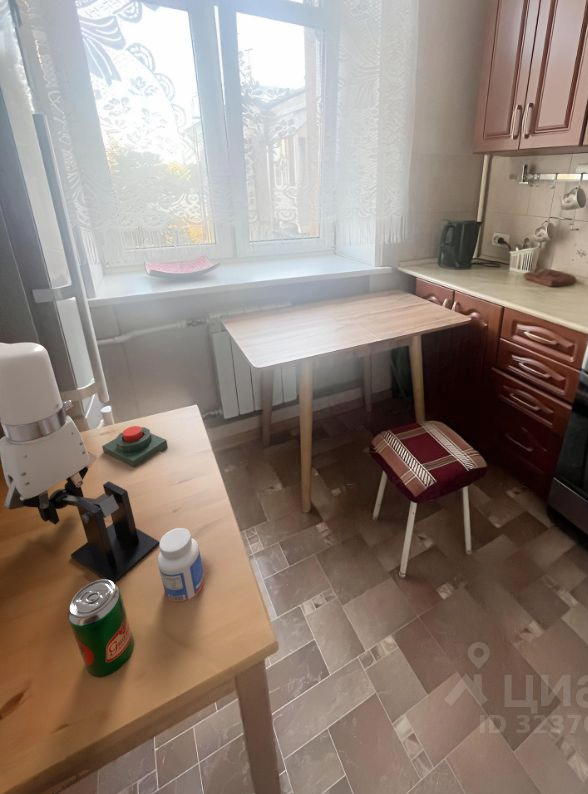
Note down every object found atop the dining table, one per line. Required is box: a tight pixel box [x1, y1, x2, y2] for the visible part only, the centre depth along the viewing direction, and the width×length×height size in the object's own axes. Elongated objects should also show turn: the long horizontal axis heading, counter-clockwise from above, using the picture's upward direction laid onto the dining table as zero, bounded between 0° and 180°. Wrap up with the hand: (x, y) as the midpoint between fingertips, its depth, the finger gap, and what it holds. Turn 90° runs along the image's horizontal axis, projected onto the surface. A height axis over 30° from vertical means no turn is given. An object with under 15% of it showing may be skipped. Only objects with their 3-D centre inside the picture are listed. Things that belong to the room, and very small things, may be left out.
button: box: [122, 425, 143, 442], centre depth 84 cm, size 4×4×2 cm
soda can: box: [67, 578, 135, 679], centre depth 47 cm, size 5×5×12 cm
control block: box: [101, 426, 169, 468], centre depth 85 cm, size 10×8×4 cm
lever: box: [48, 488, 119, 519], centre depth 63 cm, size 17×3×3 cm, turn 64°
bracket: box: [70, 480, 160, 584], centre depth 61 cm, size 10×8×12 cm
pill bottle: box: [157, 527, 205, 603], centre depth 56 cm, size 6×5×10 cm
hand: (64, 511), depth 67 cm, fingers closed on lever, 3 cm apart
